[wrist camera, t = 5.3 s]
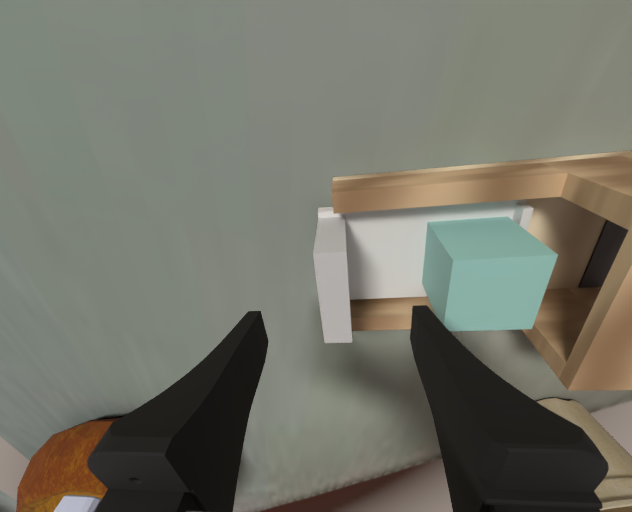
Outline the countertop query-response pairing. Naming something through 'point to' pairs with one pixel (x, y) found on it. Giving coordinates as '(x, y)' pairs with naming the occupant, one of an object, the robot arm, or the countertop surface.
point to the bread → (62, 468)
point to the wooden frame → (552, 230)
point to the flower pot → (624, 470)
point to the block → (485, 273)
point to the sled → (383, 254)
